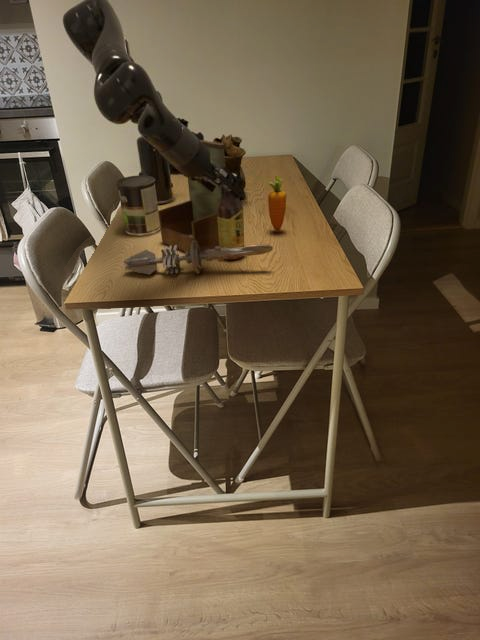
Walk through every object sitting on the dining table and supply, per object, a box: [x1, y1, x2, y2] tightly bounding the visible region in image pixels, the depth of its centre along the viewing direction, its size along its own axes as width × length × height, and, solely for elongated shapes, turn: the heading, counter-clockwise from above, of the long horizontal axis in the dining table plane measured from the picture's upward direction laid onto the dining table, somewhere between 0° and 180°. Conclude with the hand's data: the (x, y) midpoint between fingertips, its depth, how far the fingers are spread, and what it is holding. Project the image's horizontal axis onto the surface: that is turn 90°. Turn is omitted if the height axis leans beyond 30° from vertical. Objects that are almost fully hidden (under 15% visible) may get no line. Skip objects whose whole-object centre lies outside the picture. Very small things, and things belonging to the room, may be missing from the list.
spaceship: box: [123, 239, 274, 276], centre depth 109 cm, size 8×35×8 cm
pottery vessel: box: [212, 134, 247, 199], centre depth 153 cm, size 25×11×20 cm, turn 3°
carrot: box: [267, 175, 287, 233], centre depth 126 cm, size 5×5×15 cm
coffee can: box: [116, 174, 161, 237], centre depth 132 cm, size 10×10×14 cm
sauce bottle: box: [217, 173, 245, 261], centre depth 113 cm, size 7×6×20 cm
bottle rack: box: [158, 139, 225, 253], centre depth 119 cm, size 14×12×25 cm
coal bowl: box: [169, 117, 205, 170], centre depth 187 cm, size 20×20×19 cm
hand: (226, 191), depth 109 cm, fingers open, 8 cm apart
